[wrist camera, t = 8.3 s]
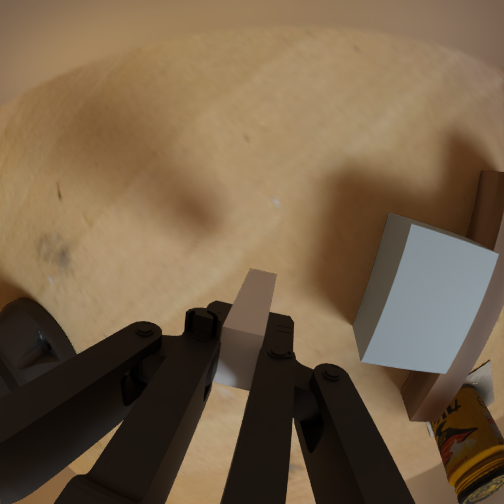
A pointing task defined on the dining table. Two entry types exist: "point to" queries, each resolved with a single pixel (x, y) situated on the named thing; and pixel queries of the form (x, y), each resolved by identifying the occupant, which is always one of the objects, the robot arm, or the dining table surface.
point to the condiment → (471, 440)
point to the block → (421, 296)
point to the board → (497, 294)
